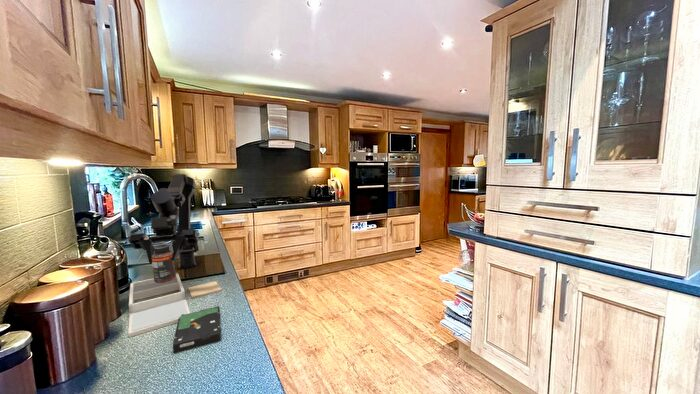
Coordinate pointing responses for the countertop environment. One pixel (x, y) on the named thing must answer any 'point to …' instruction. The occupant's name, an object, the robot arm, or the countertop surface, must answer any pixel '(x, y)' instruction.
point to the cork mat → (204, 289)
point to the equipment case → (155, 305)
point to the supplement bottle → (163, 264)
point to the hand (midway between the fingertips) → (161, 261)
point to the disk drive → (197, 329)
